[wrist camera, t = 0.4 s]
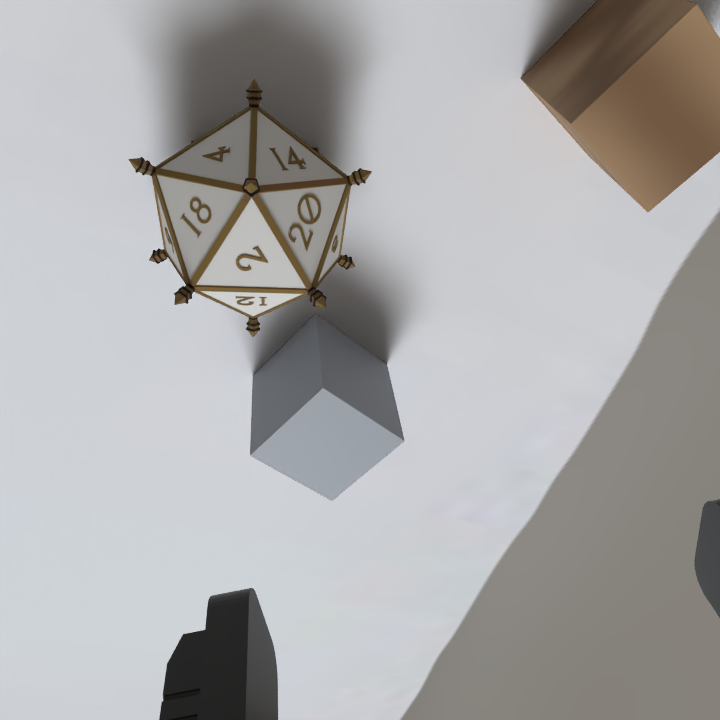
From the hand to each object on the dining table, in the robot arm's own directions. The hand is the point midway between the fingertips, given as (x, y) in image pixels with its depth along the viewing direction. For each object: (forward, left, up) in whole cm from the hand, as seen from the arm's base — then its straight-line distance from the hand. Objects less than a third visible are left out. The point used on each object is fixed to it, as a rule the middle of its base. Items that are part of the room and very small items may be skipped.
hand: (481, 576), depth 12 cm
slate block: (+10, +6, -22) cm, 25 cm away
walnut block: (-9, +5, -22) cm, 24 cm away
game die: (+4, -3, -22) cm, 22 cm away
